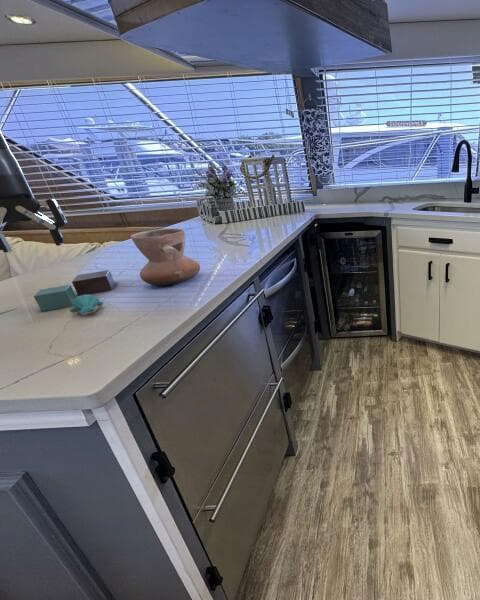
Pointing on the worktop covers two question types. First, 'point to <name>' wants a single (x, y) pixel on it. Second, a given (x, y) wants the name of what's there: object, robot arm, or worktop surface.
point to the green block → (55, 297)
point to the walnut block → (93, 282)
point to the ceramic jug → (165, 256)
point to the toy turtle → (85, 304)
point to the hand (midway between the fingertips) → (34, 248)
